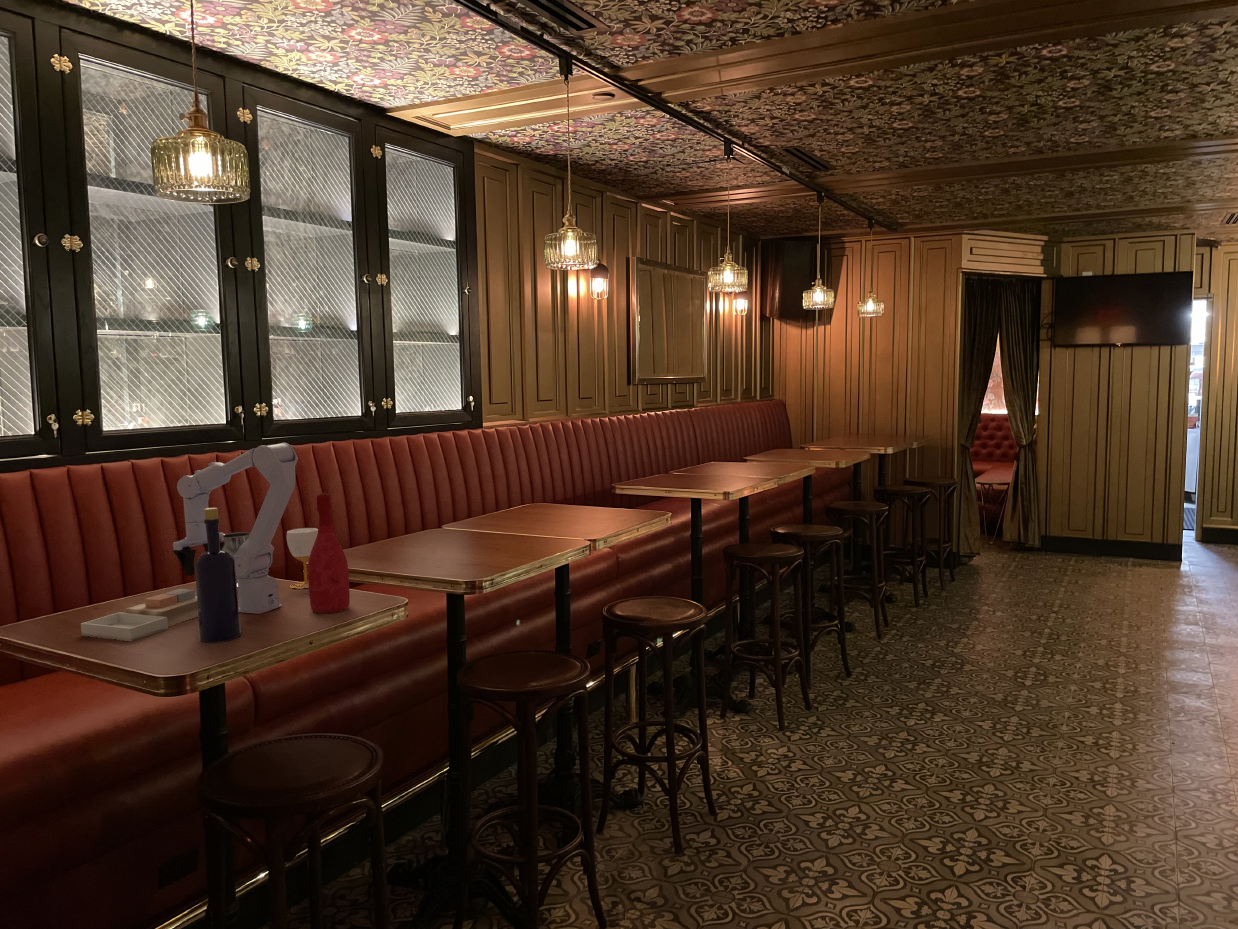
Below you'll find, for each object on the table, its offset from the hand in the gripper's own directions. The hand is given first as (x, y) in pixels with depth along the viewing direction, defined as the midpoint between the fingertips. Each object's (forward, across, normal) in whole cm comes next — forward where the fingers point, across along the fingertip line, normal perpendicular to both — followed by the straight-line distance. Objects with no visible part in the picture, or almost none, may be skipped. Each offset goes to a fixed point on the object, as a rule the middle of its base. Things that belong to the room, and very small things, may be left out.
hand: (201, 572), depth 227 cm
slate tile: (+5, +7, 0) cm, 9 cm away
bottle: (+10, +20, +26) cm, 34 cm away
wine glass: (+10, -22, -10) cm, 26 cm away
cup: (+10, -27, +10) cm, 30 cm away
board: (+9, +11, 0) cm, 14 cm away
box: (+9, +23, 0) cm, 25 cm away
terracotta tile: (+5, +13, 0) cm, 14 cm away
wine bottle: (+10, -7, +35) cm, 37 cm away
